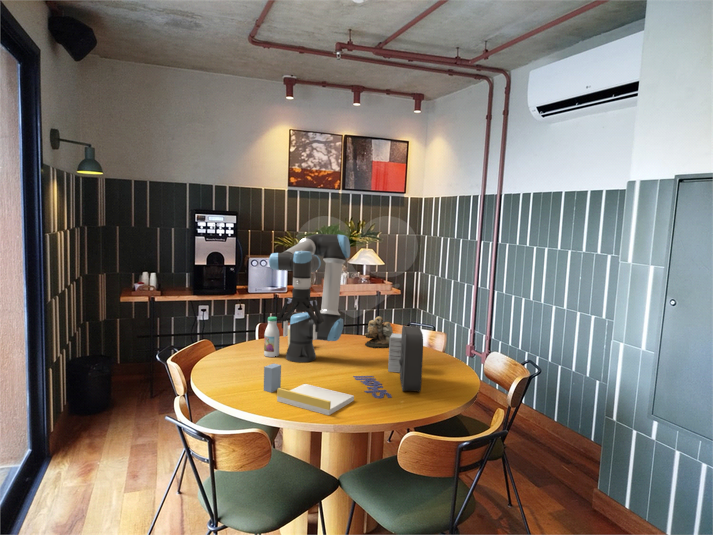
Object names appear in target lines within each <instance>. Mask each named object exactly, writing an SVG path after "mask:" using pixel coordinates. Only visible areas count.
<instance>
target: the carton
mask: <svg viewBox="0 0 713 535" xmlns="http://www.w3.org/2000/svg"><path fill="white" fill-rule="evenodd" d="M281 382H282V365H281V364H278V363H270V364H267V365H266V366H263V391H264V392H267V393H274V392H277V389H278V388H281V385H282V384H281ZM281 389H282V388H281Z"/></svg>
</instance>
